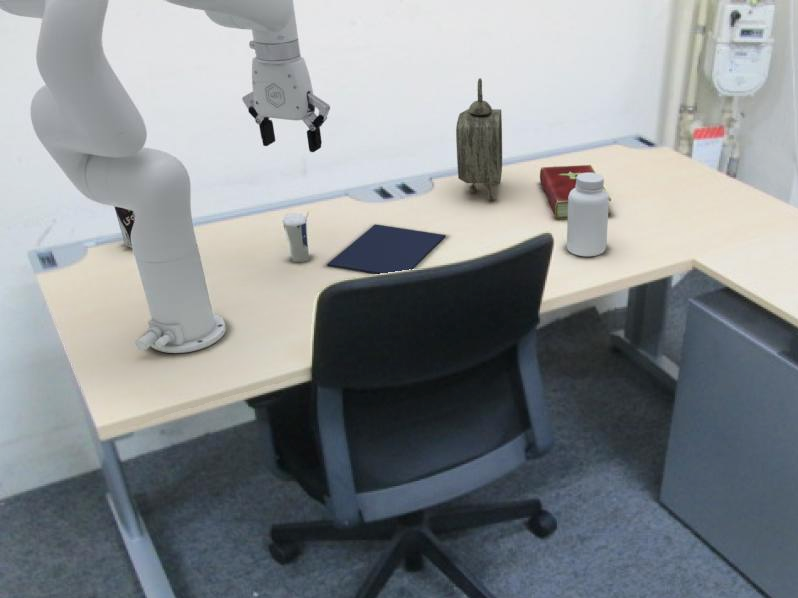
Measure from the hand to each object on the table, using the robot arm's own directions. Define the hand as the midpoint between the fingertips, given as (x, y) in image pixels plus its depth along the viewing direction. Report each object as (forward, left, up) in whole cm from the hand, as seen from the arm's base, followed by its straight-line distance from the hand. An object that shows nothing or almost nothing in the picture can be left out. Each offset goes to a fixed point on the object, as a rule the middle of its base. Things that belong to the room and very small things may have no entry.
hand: (292, 146), depth 166 cm
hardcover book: (+44, -42, -21) cm, 64 cm away
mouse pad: (+6, -15, -21) cm, 26 cm away
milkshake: (-3, -1, -21) cm, 22 cm away
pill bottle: (+20, -52, -21) cm, 59 cm away
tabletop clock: (+41, -21, -21) cm, 50 cm away
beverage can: (-8, +33, -21) cm, 40 cm away
